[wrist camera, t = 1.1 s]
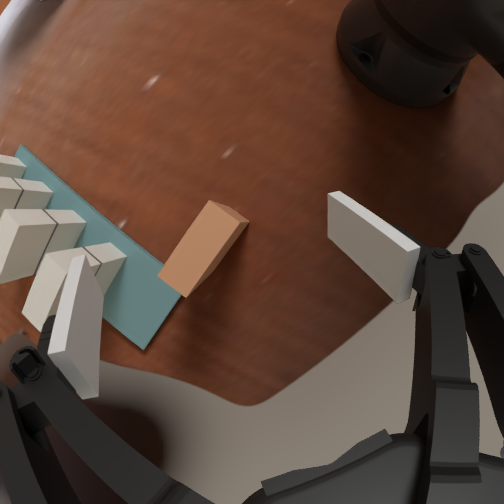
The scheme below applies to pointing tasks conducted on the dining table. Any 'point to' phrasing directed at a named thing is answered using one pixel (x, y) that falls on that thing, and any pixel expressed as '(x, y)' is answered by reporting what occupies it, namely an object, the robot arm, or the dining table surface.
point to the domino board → (130, 273)
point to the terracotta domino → (202, 247)
